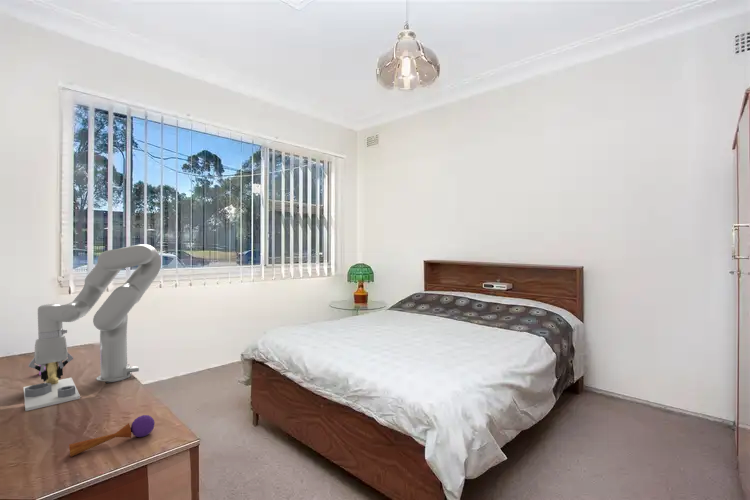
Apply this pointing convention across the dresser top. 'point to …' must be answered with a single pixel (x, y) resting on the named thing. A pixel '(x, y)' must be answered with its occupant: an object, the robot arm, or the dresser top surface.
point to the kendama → (117, 434)
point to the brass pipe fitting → (52, 373)
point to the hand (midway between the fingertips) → (52, 378)
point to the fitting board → (50, 394)
